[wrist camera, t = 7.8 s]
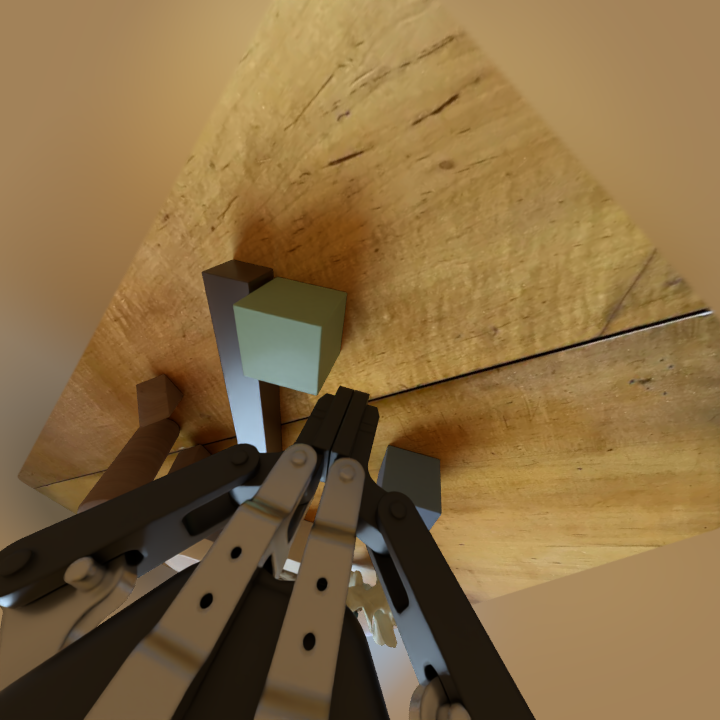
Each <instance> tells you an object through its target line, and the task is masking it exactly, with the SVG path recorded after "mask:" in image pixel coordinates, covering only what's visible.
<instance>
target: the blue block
mask: <svg viewBox="0 0 720 720" xmlns="http://www.w3.org/2000/svg"><path fill="white" fill-rule="evenodd" d="M377 485H378V486H380V487H381V488H382V489H384V490H385V491H387V492H391V491H397V492H401V493H403V494H405V495H406V496H408V497H409V498H410V499H411V500H412V502H413V503H414V505H415V507H416V509H417V510H418V512H419V514H420V516H421V517H422V519H423V521H424V523H425V525H426V526H427V528H428V530H430V529H431V528H432V526H433V525H434V523H435V522H436V521H437V519H438V518H439V517H440V515H441V513H442V512H441V479H440V460H439V459H435V458H432V457H428V456H425V455H421V454H418V453H414V452H411V451H407V450H404V449H400V448H396V447H393V446H388V447H387V450H386V453H385V456H384V459H383V462H382V465H381V468H380V471H379V474H378V479H377Z"/></svg>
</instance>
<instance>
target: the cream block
mask: <svg viewBox="0 0 720 720" xmlns="http://www.w3.org/2000/svg"><path fill="white" fill-rule="evenodd" d="M312 525H313V523H312V522H308V521H305V520H303V521H302V524H301V526H300V528H299V530H298V532H297V534H296V536H295V538H294V540H293V543H292V545H291V547H290V550H289V554H288V557H287V560H286V563H285V565H284V567H283V569H285V570H287V571H290V572H293V573H296V574H298V570H299V567H300V563H301V560H302V556H303V553H304V550H305V546H306V543H307V539H308V536H309V533H310V530H311V527H312Z"/></svg>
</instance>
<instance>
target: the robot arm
mask: <svg viewBox="0 0 720 720" xmlns="http://www.w3.org/2000/svg"><path fill="white" fill-rule="evenodd" d="M369 395H370V394H368V393H364V392H361V391H357V390H355V392H354V390H353V389H350V388H346V387H342V386H339V388H338V390H337V392H336V395H331V394H328V393H326V394H325V395H324V396H322V397H321V398H320V399H319V400H318V402H317V403H316V405H315V407H314V409H313V411H312V413H311V415H310V416H309V418H308V420H307V422H306V424H305V426H304V427H303V429H302V431H301V433H300V435H299V437H298V438H297V440H296V442H295V443H294V444H293V445H291V446H289V447H288V448H287V449H286V450H284V451H281V452H276V453H259V451H258V449H257V448H256V447H255V446H253V445H251V444H248V443H241V444H237V445H234V446H232V447H229V448H227V449H225V450H222V451H220V452H218V453H216V454H213V455H211V456H209V457H207V458H204V459H202V460H200V461H197V462H195V463H193V464H191V465H188V466H186V467H184V468H181V469H179V470H177V471H175V472H172V473H170V474H168V475H165V476H163V477H161V478H159V479H156V480H154V481H152V482H149V483H147V484H145V485H143V486H140V487H138V488H136V489H134V490H131V491H129V492H127V493H124V494H122V495H120V496H118V497H115V498H113V499H111V500H108V501H106V502H104V503H102V504H99V505H97V506H95V507H92V508H90V509H88V510H86V511H83V512H81V513H79V514H76V515H74V516H72V517H70V518H67V519H65V520H63V521H61V522H58V523H56V524H54V525H52V526H50V527H47V528H45V529H42V530H40V531H38V532H35V533H33V534H31V535H29V536H27V537H24V538H22V539H20V540H18V541H16V542H14V543H12V544H10V545H9V546H7V547H6V548H4V549H3V550H2V551H0V607H1V608H2V610H3V615H2V621H1V628H0V720H390V718H389V715H388V711H387V708H386V704H385V701H384V697H383V694H382V690H381V687H380V684H379V680H378V677H377V673H376V670H375V666H374V663H373V659H372V656H371V652H370V649H369V645H368V642H367V639H366V636H365V634H364V631H363V629H362V627H361V625H360V623H359V621H358V619H357V618H356V616H355V615H354V613H353V612H352V610H351V609H350V608H349V607H348V606H347V605H346V600H347V594H348V588H349V581H350V575H351V569H352V562H353V556H354V549H355V542H356V537H358V538H359V539H360V540H361V541H362V542H364V543H365V544H366V547H367V550H368V553H369V555H370V558H371V560H372V563H373V565H374V568H375V571H376V573H377V576H378V578H379V581H380V583H381V586H382V589H383V591H384V594H385V596H386V599H387V602H388V604H389V607H390V609H391V612H392V614H393V617H394V620H395V622H396V625H397V627H398V630H399V632H400V635H401V638H402V640H403V643H404V645H405V648H406V650H407V653H408V656H409V658H410V661H411V663H412V666H413V669H414V671H415V674H416V676H417V679H418V681H419V686H418V687H417V688H416V689H415V691H414V693H413V695H412V698H411V701H410V708H409V720H536V719H535V718H534V716H533V714H532V713H531V711H530V709H529V707H528V705H527V703H526V702H525V700H524V698H523V696H522V695H521V693H520V691H519V690H518V688H517V686H516V684H515V682H514V680H513V679H512V677H511V675H510V673H509V672H508V670H507V668H506V666H505V664H504V663H503V661H502V659H501V658H500V656H499V654H498V652H497V650H496V649H495V647H494V645H493V643H492V642H491V640H490V638H489V636H488V635H487V633H486V631H485V629H484V627H483V626H482V624H481V622H480V620H479V618H478V617H477V615H476V613H475V611H474V610H473V608H472V606H471V604H470V602H469V601H468V599H467V597H466V595H465V594H464V592H463V590H462V588H461V587H460V585H459V583H458V581H457V579H456V578H455V576H454V574H453V572H452V571H451V569H450V567H449V565H448V563H447V562H446V560H445V558H444V556H443V555H442V553H441V551H440V549H439V548H438V546H437V544H436V542H435V540H434V539H433V537H432V535H431V533H430V532H429V530H428V528H427V526H426V525H425V523H424V521H423V519H422V517H421V516H420V514H419V512H418V510H417V509H416V507H415V505H414V503H413V502H412V500H411V499H410V498H409V497H408V496H406V495H405V494H403V493H401V492H397V491H391V492H387V491H385V490H384V489H382V488H381V487H380V486H378V485H377V484H376V483H375V482H374V481H373V480H372V478H371V477H370V475H369V472H368V461H369V457H370V453H371V449H372V445H373V441H374V437H375V433H376V429H377V425H378V421H379V413H378V409H377V407H374V406H370V405H367V404H368V399H369ZM320 481H321V482H324V483H325V486H324V489H323V493H322V496H321V500H320V503H319V507H318V510H317V514H316V517H315V520H314V523H313V525H312V527H311V530H310V533H309V536H308V539H307V543H306V546H305V550H304V553H303V556H302V560H301V563H300V567H299V570H298V574H297V577H296V580H295V581H290V580H278V578H279V576H280V574H281V572H282V570H283V567H284V565H285V563H286V560H287V557H288V554H289V550H290V547H291V545H292V543H293V540H294V538H295V536H296V534H297V532H298V530H299V528H300V526H301V524H302V521H303V519H304V517H305V515H306V513H307V511H308V509H309V507H310V505H311V502H312V500H313V498H314V494H315V492H316V489H317V487H318V484H319V482H320ZM223 527H224V529H223V530H222V532H221V533H220V534H219V536H218V537H217V539H216V540H215V542H214V543H213V545H212V546H211V547H210V549H209V550H208V552H207V553H206V555H205V556H204V557H203V559H202V560H201V561H200V562H197V563H195V564H192V565H191V566H189V567H187V568H185V569H183V570H182V571H180V572H178V573H177V574H175V575H174V576H172V577H171V578H169V579H168V580H166V581H165V582H163V583H162V584H160V585H159V586H158V587H156V588H154V589H153V590H151V591H150V592H148V593H147V594H145V595H144V596H142V597H141V598H139V599H138V600H136V601H135V602H133V603H132V604H130V605H129V606H127V607H126V608H124V609H123V610H121V611H120V612H118V613H117V614H115V615H114V616H112V617H111V618H109V619H108V620H107V621H105V622H103V623H102V624H100V625H99V623H100V622H101V621H103V620H104V619H105V618H106V617H107V616H108V615H110V614H111V613H112V612H114V611H115V610H116V609H117V608H119V607H120V606H121V605H122V604H123V603H124V602H125V601H126V600H127V599H128V597H129V595H130V594H131V592H132V591H133V589H134V587H135V584H136V581H137V578H139V577H140V576H142V575H144V574H145V573H147V572H149V571H150V570H152V569H153V568H155V567H157V566H159V565H160V564H162V563H164V562H166V561H167V560H169V559H171V558H172V557H174V556H176V555H177V554H179V553H181V552H183V551H184V550H186V549H188V548H189V547H191V546H193V545H194V544H196V543H198V542H199V541H201V540H203V539H204V538H206V537H208V536H210V535H211V534H213V533H215V532H216V531H218V530H220V529H221V528H223ZM98 625H99V626H98ZM97 626H98V627H97Z"/></svg>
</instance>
